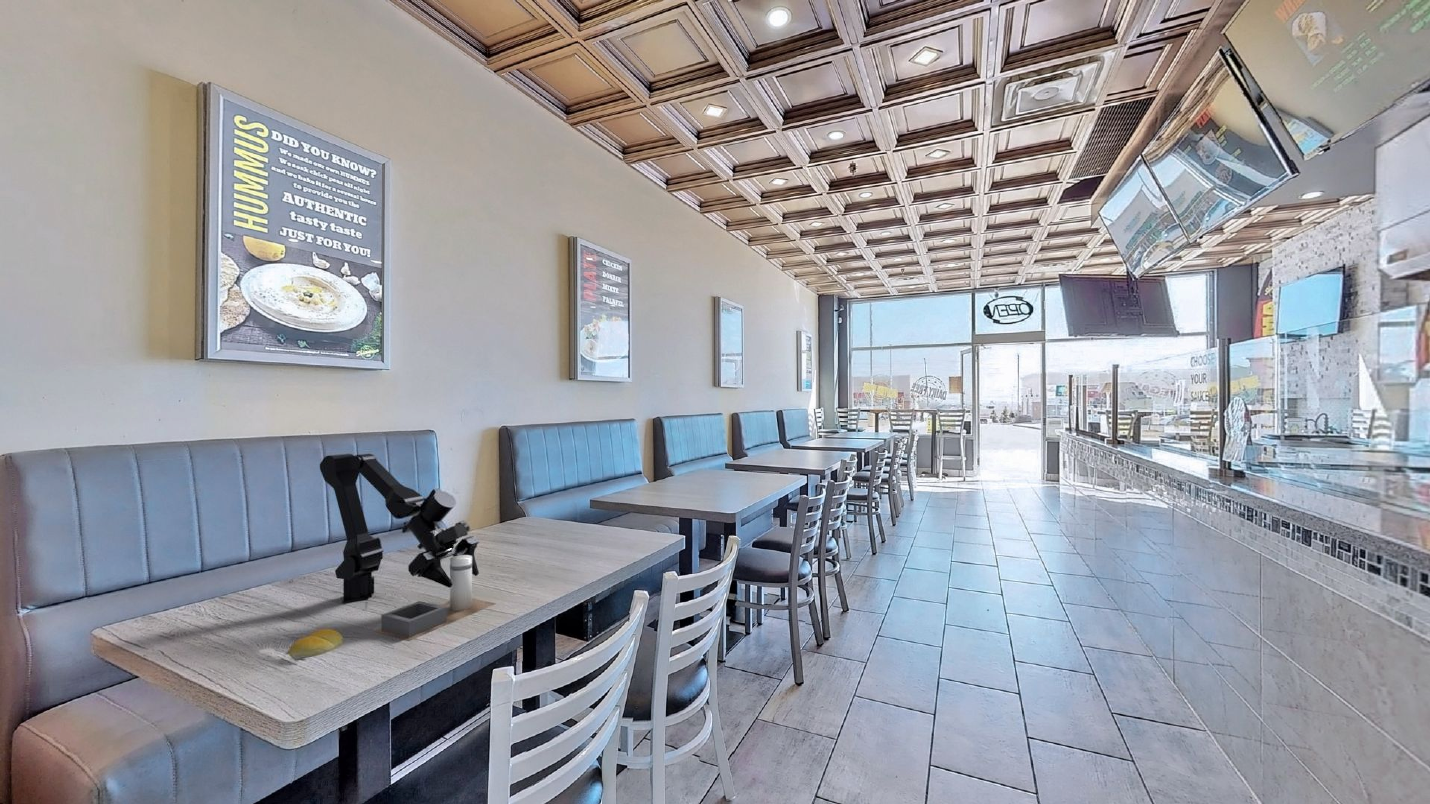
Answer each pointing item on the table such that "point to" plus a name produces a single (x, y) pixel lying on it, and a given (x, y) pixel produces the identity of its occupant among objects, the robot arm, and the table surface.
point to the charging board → (451, 617)
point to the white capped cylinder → (461, 582)
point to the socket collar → (413, 619)
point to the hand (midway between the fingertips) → (464, 580)
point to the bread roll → (316, 644)
